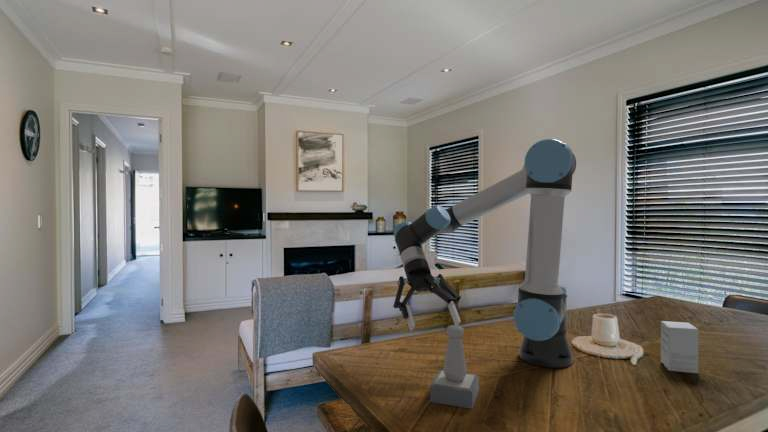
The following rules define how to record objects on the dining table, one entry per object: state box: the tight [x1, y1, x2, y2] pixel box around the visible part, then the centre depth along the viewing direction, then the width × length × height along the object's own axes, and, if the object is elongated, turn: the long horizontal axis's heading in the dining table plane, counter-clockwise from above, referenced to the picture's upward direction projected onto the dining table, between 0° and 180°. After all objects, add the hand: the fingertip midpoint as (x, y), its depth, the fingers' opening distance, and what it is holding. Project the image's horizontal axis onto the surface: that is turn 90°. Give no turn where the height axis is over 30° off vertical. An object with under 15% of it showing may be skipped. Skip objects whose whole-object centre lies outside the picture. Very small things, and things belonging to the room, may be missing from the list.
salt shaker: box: [442, 324, 468, 382], centre depth 102 cm, size 6×6×13 cm
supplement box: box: [660, 320, 700, 374], centre depth 120 cm, size 7×7×13 cm
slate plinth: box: [429, 369, 480, 410], centre depth 102 cm, size 10×10×4 cm
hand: (435, 326), depth 114 cm, fingers open, 13 cm apart
